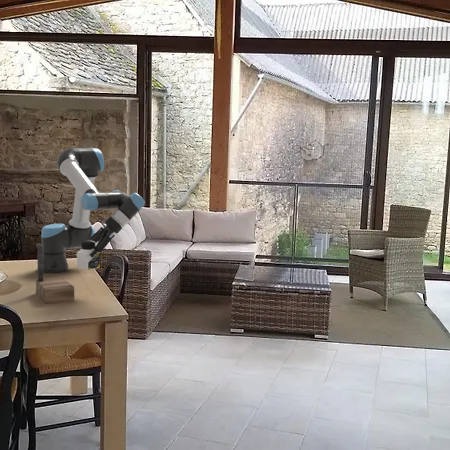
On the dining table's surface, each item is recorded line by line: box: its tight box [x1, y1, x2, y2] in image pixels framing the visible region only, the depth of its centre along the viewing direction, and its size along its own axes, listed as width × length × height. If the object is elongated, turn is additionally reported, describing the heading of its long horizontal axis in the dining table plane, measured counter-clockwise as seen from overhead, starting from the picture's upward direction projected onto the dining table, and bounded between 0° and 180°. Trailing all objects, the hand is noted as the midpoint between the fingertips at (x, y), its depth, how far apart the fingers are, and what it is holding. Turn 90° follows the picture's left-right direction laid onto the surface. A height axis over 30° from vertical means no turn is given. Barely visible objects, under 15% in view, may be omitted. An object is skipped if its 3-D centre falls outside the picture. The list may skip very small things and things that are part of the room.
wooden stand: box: [35, 243, 75, 305], centre depth 266 cm, size 20×12×22 cm, turn 29°
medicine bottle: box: [76, 240, 101, 271], centre depth 270 cm, size 7×7×12 cm
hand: (81, 259), depth 269 cm, fingers closed on medicine bottle, 9 cm apart
